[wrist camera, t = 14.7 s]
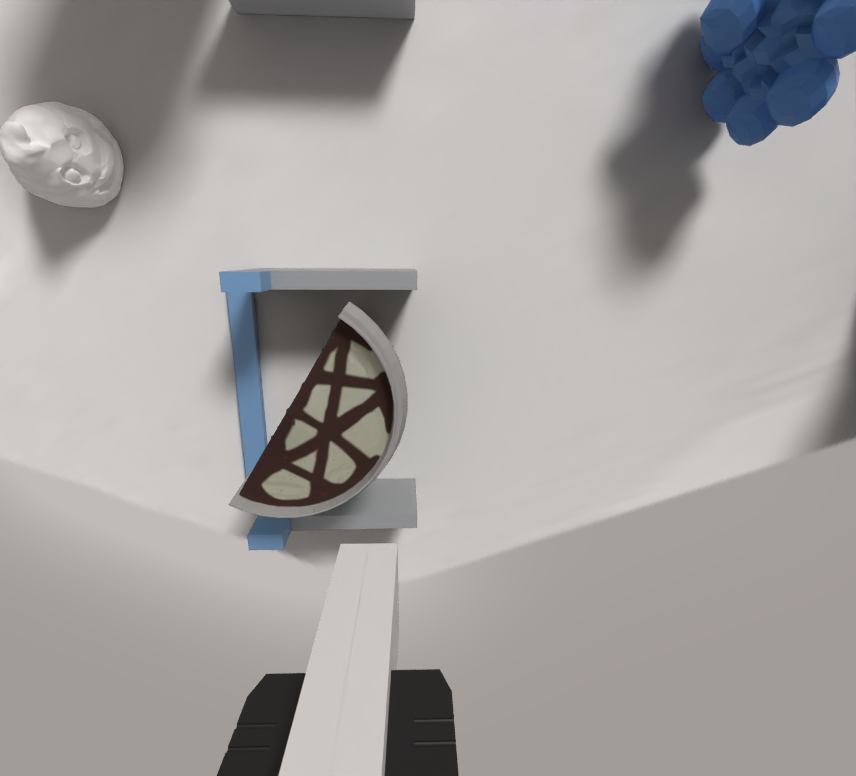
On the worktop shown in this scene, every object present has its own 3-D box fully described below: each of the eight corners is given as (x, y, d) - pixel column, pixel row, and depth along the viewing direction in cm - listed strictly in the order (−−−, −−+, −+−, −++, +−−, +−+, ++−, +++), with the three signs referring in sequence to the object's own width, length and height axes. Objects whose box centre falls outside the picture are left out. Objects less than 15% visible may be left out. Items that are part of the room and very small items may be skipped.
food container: (350, 480, 35) (330, 565, 25) (274, 440, 34) (223, 513, 24) (440, 339, 33) (456, 373, 23) (362, 290, 31) (344, 305, 22)
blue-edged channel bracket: (414, -2, 27) (417, -87, 21) (415, 490, 36) (418, 546, 29) (199, -9, 27) (130, -99, 20) (250, 494, 35) (214, 550, 28)
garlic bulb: (56, 212, 24) (-62, 178, 23) (123, 221, 30) (30, 194, 29) (66, 95, 23) (-58, 55, 22) (135, 128, 28) (37, 97, 28)
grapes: (639, -52, 27) (812, -279, 16) (755, -68, 27) (1014, -307, 16) (643, 168, 30) (790, 114, 19) (747, 153, 30) (958, 90, 19)
